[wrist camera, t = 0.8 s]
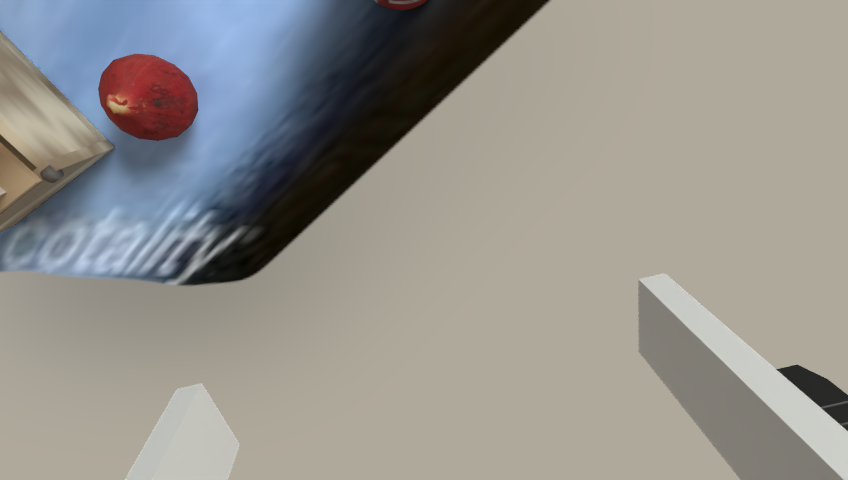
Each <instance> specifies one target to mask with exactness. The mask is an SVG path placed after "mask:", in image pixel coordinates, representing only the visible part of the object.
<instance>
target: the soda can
mask: <svg viewBox="0 0 848 480" xmlns="http://www.w3.org/2000/svg"><path fill="white" fill-rule="evenodd" d="M374 1H375V2H377V3H378V4H380V5H382V6H384V7H386V8H389V9H393V10H408V9H412V8H415V7H418V6H420V5H422V4H423V3H425V2H426V1H427V0H374Z"/></svg>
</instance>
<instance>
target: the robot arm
mask: <svg viewBox="0 0 848 480" xmlns="http://www.w3.org/2000/svg"><path fill="white" fill-rule="evenodd" d="M639 352H640V354H641V355H642V356H643V357H644V359H645V360H646V361H647V362H648V364H649V365H650V366H651V367H652V369H653V370H654V371H655V373H656V374H657V375H658V376H659V378H660V379H661V380H662V381H663V383H664V384H665V385H666V386H667V388H668V389H669V390H670V391H671V393H672V394H673V395H674V396H675V398H676V399H677V400H678V401H679V403H680V404H681V405H682V407H683V408H684V409H685V410H686V412H687V413H688V414H689V415H690V417H691V418H692V419H693V420H694V422H695V423H696V424H697V425H698V427H699V428H700V429H701V430H702V432H703V433H704V434H705V436H706V437H707V438H708V439H709V441H710V442H711V443H712V444H713V446H714V447H715V448H716V449H717V451H718V452H719V453H720V454H721V456H722V457H723V458H724V459H725V460H726V462H727V463H728V464H729V466H730V467H731V468H732V470H733V471H734V472H735V473H736V475H737V476H738V477H739V478H740V480H848V395H847V394H846V393H844V392H843V391H842V390H841V389H839V388H838V387H837V386H835V385H834V384H833V383H832V382H830V381H829V380H828V379H826V378H824V377H821V376H820V375H818V374H816V373H814V372H811V371H809V370H807V369H805V368H803V367H801V366H799V365H794V366H790V367H785V368H781V369H775V368H774V367H773V366H772V365H770V364H769V363H768V362H767V361H766V360H765V359H764V358H762V357H761V356H760V355H759V354H758V353H757V352H755V351H754V350H753V349H752V348H751V347H750V346H749V345H747V344H746V343H745V342H744V341H743V340H741V339H740V338H739V337H738V336H737V335H736V334H735V333H733V332H732V331H731V330H730V329H729V328H727V326H725V325H724V324H723V323H722V322H721V321H720V320H718V319H717V318H716V317H715V316H713V314H711V313H710V312H709V311H708V310H707V309H706V308H705V307H703V306H702V305H701V304H700V303H699V302H698V301H696V300H695V299H694V298H693V297H692V296H691V295H689V294H688V293H687V292H686V291H685V290H684V289H683V288H681V287H680V286H679V285H678V284H677V283H676V282H674V281H673V280H672V279H671V278H670V277H669V276H667V275H666V274H665V273H663V274H659V275H655V276H651V277H646V278H642V279H639ZM239 446H240V444H239V443H238V441H237V439H236V438H235V436H234V434H233V433H232V431H231V430H230V428H229V427H228V425H227V423H226V422H225V420H224V418H223V417H222V415H221V413H220V412H219V411H218V409H217V407H216V405H215V404H214V402H213V401H212V399H211V397H210V396H209V394H208V392H207V391H206V389H205V388H204V386H203V384H202V383H200V384H196V385H192V386H187V387H183V388H179V389H177V390H176V391H175V393H174V395H173V397H172V398H171V400H170V402H169V404H168V405H167V407H166V409H165V410H164V412H163V414H162V416H161V417H160V419H159V421H158V423H157V424H156V426H155V428H154V430H153V431H152V433H151V435H150V437H149V438H148V440H147V442H146V443H145V445H144V447H143V449H142V450H141V452H140V454H139V456H138V457H137V459H136V461H135V463H134V464H133V466H132V468H131V470H130V471H129V473H128V475H127V476H126V478H125V480H228V478H229V475H230V472H231V469H232V466H233V463H234V460H235V457H236V455H237V452H238V449H239Z"/></svg>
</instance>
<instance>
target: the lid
mask: <svg viewBox="0 0 848 480" xmlns="http://www.w3.org/2000/svg"><path fill="white" fill-rule="evenodd" d="M41 181H42V180H41V179H40V178H39V177H38V176H37V175H36V174H35V173H34V172H33V171H31V170H30V169H29V168H28V167H27V166H26V165H25V164H24V163H23V162H21V161H20V160H19V159H18V158H17V157H16V156H15V155H14V154H13V153H12V152H10V151H9V150H8V149H7V148H6V147H5V146H4V145H3V144H2V143H1V142H0V213H1V212H3V211H4V210H5V209H7V208H8V207H9V206H10V205H12V204H13V203H14V202H15V201H17V200H18V199H19V198H21V197H22V196H23V195H24V194H26V193H27V192H28V191H29V190H31V189H32V188H33V187H35V186H36V185H37V184H38V183H40V182H41Z"/></svg>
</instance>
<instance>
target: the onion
mask: <svg viewBox="0 0 848 480" xmlns="http://www.w3.org/2000/svg"><path fill="white" fill-rule="evenodd" d="M98 90H99V96H100V102H101V106H102V107H103V109H104V111H105V112H106V114H107V116H108V117H109V119H110V120H111V121H112V122H114V123H115V124H116V125H117V126H118V127H119V128H120V129H121V130H122V131H124V132H126V133H128V134H130V135H132V136H134V137H137V138H139V139H147V140H156V141H159V140H164V139H168V138H173V137H177V136H179V135H180V134H181V133H182V132H183V131H185V130H186V129H187V128H188V127H189V126H190V125H192V123H193V121H194V119H195V116H196V114H197V112H198V100H197V93H196V91H195V89H194V87H193V85H192V83H191V81H190V79H189V77H188V76H187V75H186V74H184V73H183V72H182V71H181V70H180V69H179V68H178V67H176V66H175V65H174V64H172V63H169V62H167V61H165V60H163V59H161V58H159V57H156V56H154V55H144V54H133V55H129V56H126V57H122V58H119V59H115V60H113V61H112V62H111V64H110V65H109V66H108V67H107V68H106V69H105V71H104V72H103V73H102V75H101V79H100V84H99V88H98Z"/></svg>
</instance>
